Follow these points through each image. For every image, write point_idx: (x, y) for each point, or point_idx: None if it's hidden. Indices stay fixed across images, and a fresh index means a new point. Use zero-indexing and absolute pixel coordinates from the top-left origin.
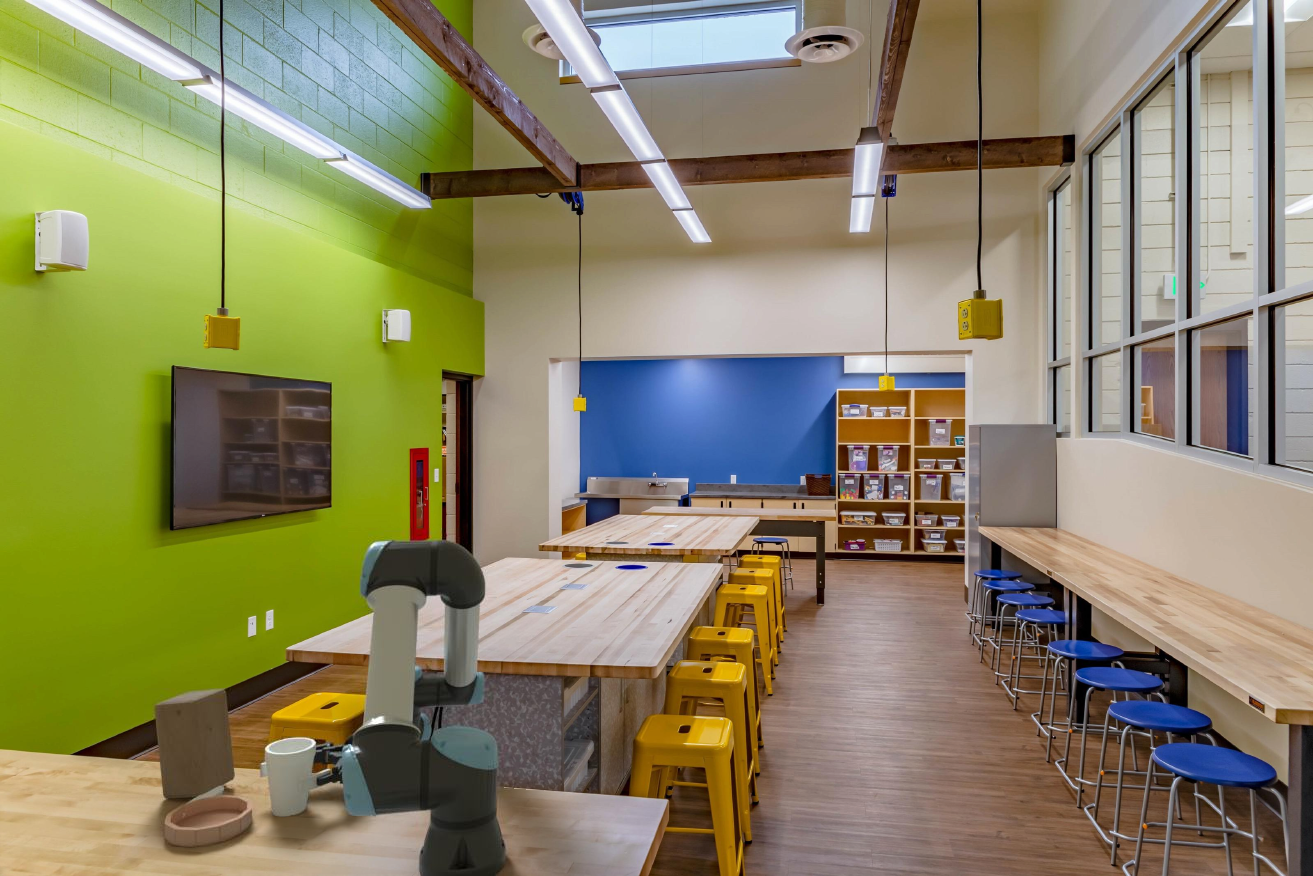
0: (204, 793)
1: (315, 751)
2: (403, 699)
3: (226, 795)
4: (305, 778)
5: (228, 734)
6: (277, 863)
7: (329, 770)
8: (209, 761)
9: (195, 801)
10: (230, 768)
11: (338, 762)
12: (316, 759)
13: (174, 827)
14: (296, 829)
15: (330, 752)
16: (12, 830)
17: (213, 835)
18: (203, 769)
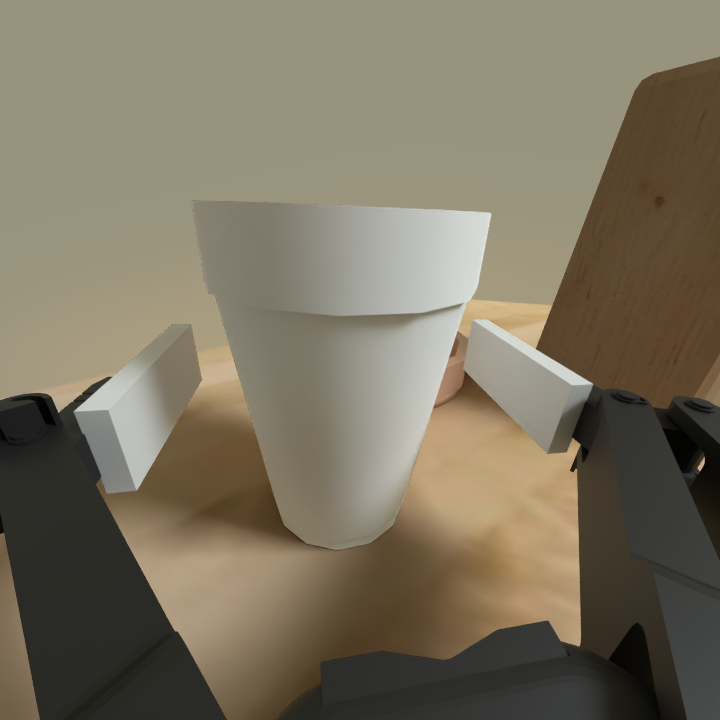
0: None
1: (249, 283)
2: None
3: (459, 361)
4: (164, 331)
5: None
6: (98, 380)
7: (82, 411)
8: (591, 300)
9: (458, 336)
10: (665, 381)
11: (96, 531)
12: (591, 571)
13: None
14: (178, 450)
15: (578, 667)
16: (525, 303)
17: None
18: (560, 307)
